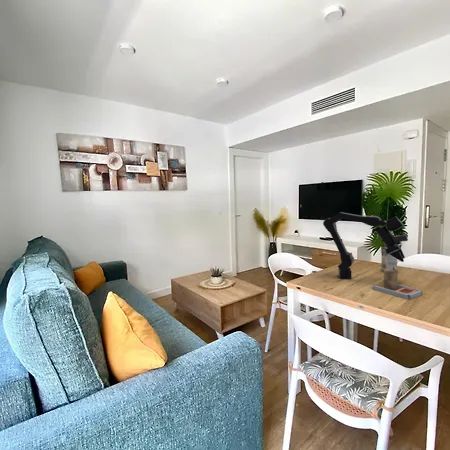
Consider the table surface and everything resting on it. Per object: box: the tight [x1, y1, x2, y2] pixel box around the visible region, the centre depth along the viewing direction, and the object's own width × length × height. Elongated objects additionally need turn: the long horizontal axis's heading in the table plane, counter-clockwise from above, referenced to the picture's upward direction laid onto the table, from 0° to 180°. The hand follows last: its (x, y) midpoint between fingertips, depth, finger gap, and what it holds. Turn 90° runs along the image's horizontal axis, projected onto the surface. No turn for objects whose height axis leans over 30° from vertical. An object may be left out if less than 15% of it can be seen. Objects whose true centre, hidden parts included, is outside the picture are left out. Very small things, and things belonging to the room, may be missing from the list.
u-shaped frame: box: [372, 283, 423, 301], centre depth 131 cm, size 18×12×2 cm, turn 29°
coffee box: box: [380, 246, 398, 272], centre depth 164 cm, size 9×6×16 cm
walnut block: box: [383, 268, 398, 291], centre depth 133 cm, size 4×4×11 cm
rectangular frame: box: [396, 287, 416, 295], centre depth 127 cm, size 6×9×2 cm, turn 119°
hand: (403, 259), depth 137 cm, fingers open, 9 cm apart
